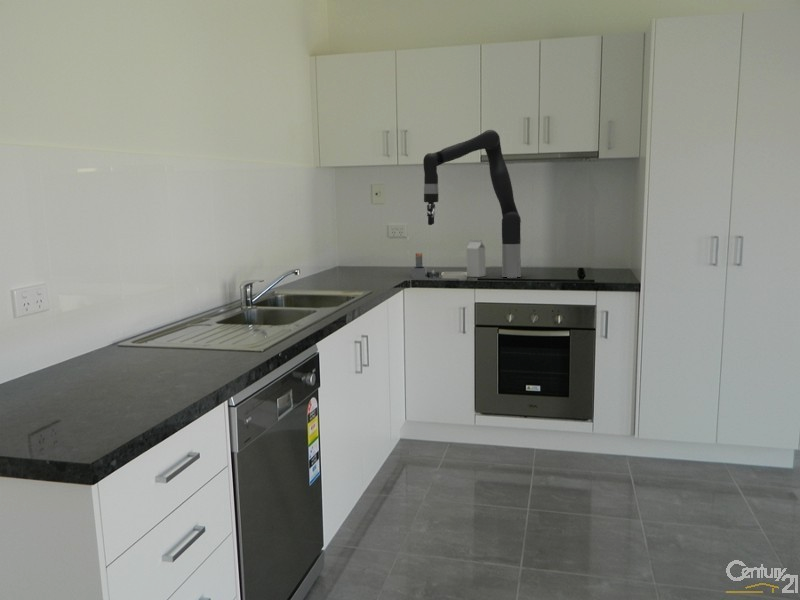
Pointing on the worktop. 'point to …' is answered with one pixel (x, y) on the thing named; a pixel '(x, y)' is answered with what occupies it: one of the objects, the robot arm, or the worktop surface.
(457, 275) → the tray
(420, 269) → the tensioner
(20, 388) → the worktop surface
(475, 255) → the milk carton
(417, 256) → the lock pin
